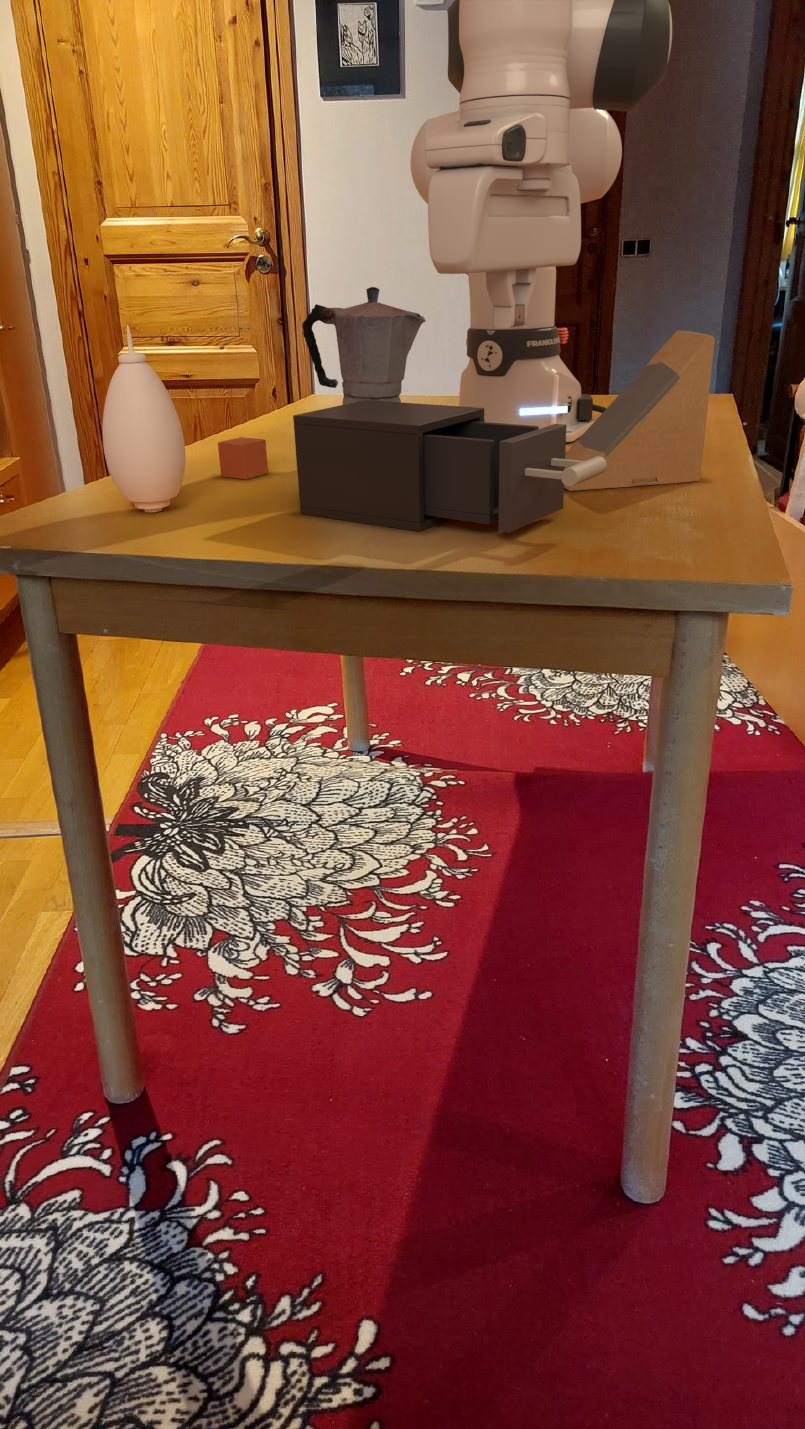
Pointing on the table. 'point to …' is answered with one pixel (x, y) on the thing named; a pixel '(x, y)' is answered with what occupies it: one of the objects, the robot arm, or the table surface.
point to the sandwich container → (654, 420)
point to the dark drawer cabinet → (369, 460)
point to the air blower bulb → (142, 434)
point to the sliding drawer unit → (499, 472)
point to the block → (243, 458)
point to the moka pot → (366, 347)
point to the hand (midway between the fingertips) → (510, 327)
